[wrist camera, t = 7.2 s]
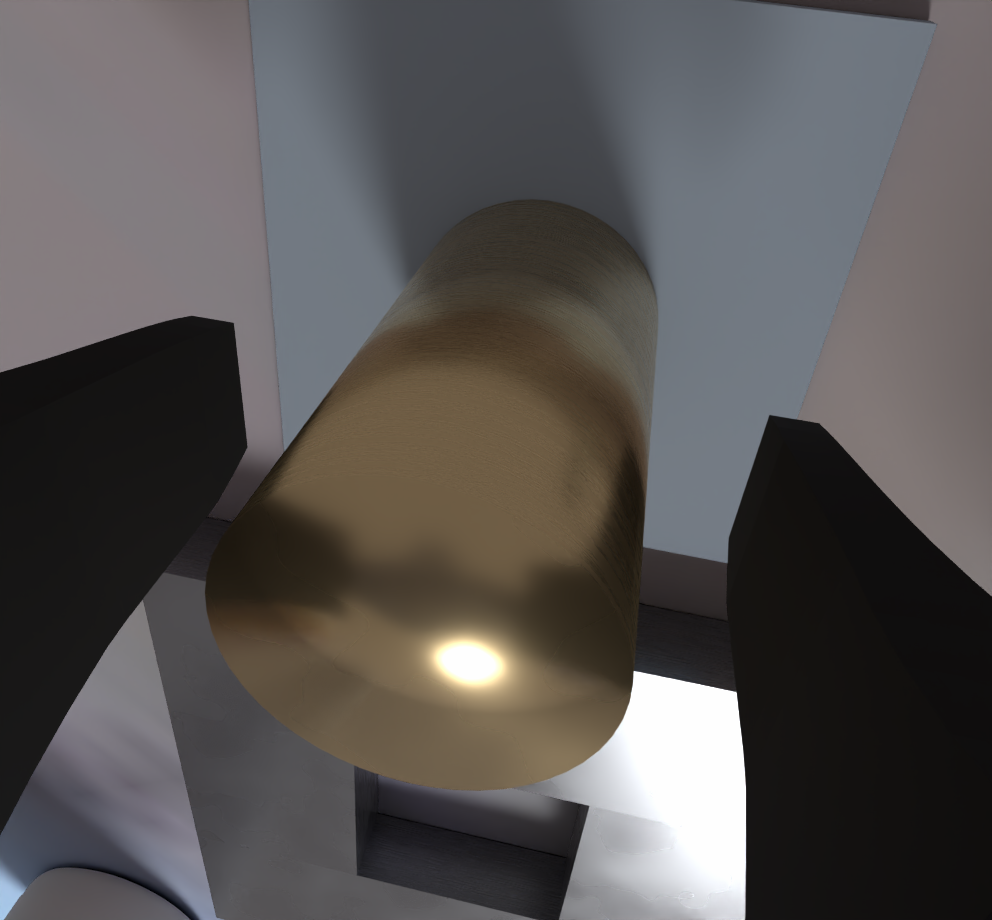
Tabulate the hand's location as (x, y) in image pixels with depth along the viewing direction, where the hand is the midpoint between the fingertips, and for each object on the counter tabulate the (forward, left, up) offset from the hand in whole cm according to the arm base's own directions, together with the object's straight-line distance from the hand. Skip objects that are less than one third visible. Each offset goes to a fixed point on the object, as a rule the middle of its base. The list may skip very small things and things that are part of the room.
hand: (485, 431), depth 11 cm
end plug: (0, 0, -4) cm, 4 cm away
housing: (0, +15, -5) cm, 16 cm away
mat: (0, 0, -5) cm, 5 cm away
